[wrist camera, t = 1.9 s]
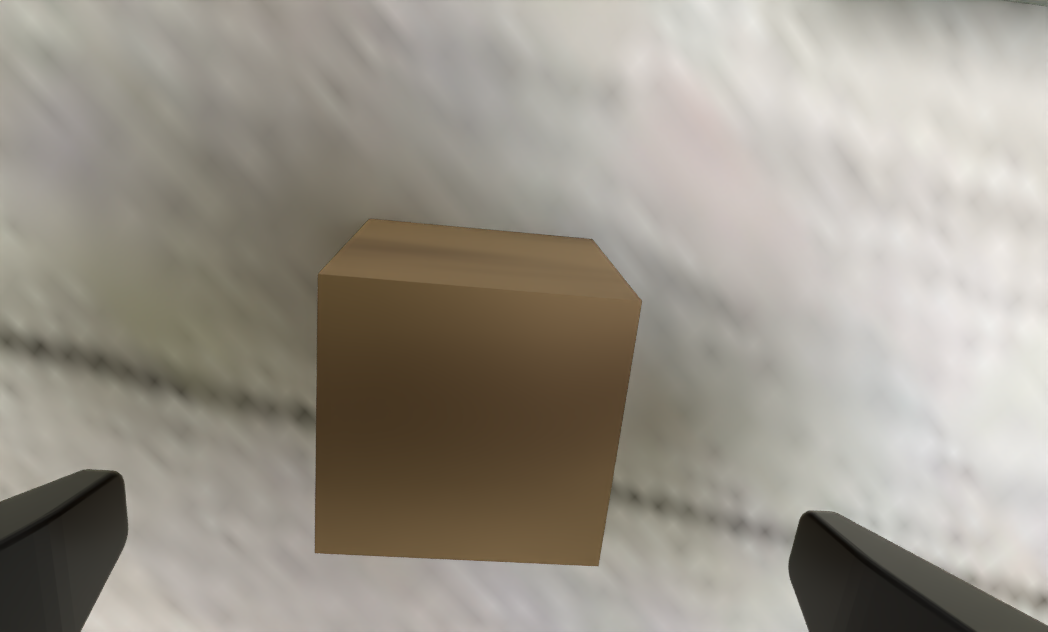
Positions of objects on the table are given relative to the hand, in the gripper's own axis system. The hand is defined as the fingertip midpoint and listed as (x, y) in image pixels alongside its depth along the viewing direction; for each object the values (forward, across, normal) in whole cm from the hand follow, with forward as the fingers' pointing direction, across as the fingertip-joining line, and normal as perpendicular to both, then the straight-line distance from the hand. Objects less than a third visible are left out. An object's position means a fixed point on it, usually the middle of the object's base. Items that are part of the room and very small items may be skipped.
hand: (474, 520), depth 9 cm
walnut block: (+7, 0, 0) cm, 7 cm away
